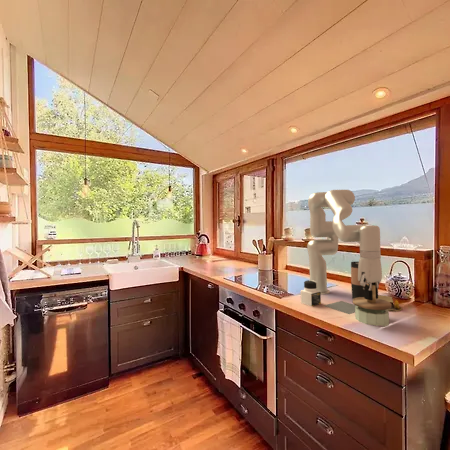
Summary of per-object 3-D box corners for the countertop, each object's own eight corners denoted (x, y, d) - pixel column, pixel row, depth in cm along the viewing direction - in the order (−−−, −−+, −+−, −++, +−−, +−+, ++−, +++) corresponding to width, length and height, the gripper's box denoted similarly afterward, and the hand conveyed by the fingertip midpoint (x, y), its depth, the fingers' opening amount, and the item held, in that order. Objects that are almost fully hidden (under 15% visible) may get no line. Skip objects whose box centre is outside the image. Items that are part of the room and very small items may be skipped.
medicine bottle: (311, 307, 123) (311, 283, 123) (300, 303, 129) (299, 280, 129) (321, 304, 127) (320, 281, 127) (309, 301, 133) (309, 278, 133)
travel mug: (354, 296, 138) (353, 261, 138) (369, 299, 133) (368, 262, 133) (349, 300, 133) (348, 262, 133) (365, 303, 128) (364, 264, 128)
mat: (323, 306, 124) (323, 305, 124) (341, 301, 130) (341, 300, 130) (349, 315, 111) (349, 314, 111) (367, 309, 118) (367, 308, 118)
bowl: (349, 319, 107) (349, 307, 107) (366, 313, 113) (366, 302, 113) (378, 329, 96) (377, 316, 96) (395, 322, 102) (394, 310, 102)
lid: (345, 302, 107) (345, 284, 107) (365, 297, 114) (364, 280, 114) (379, 312, 95) (378, 291, 95) (398, 305, 102) (398, 286, 102)
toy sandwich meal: (370, 310, 118) (369, 300, 118) (372, 302, 129) (371, 293, 129) (402, 315, 111) (402, 304, 111) (401, 306, 122) (401, 297, 122)
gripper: (372, 252, 112) (373, 293, 112) (349, 255, 104) (350, 299, 104) (390, 254, 105) (391, 297, 105) (367, 257, 97) (368, 304, 97)
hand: (371, 298), depth 104 cm, fingers closed on lid, 3 cm apart
